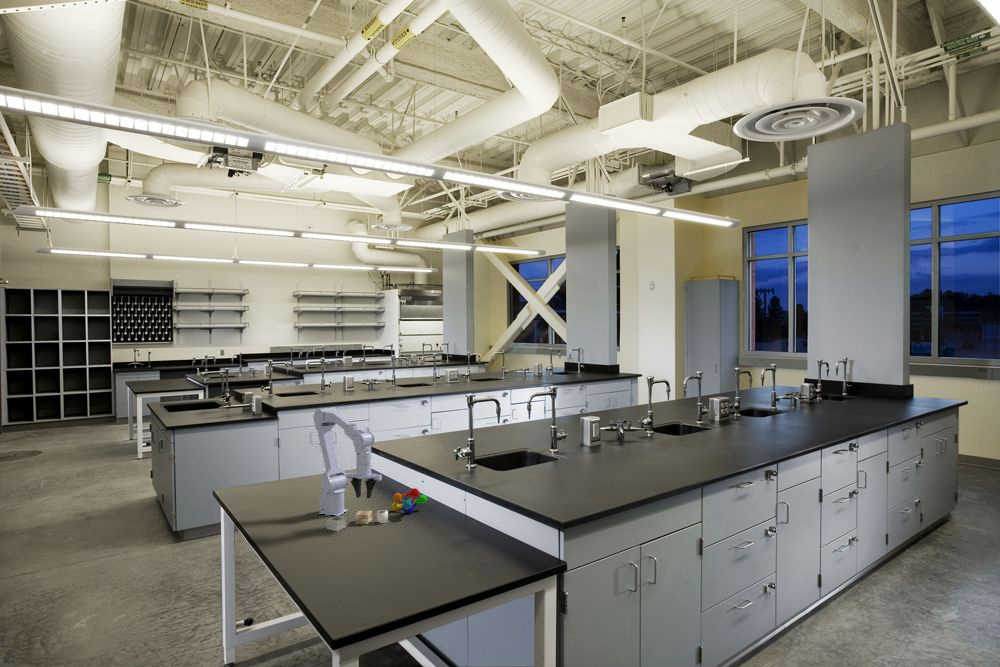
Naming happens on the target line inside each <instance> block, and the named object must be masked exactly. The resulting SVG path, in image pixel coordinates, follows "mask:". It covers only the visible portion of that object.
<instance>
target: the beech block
mask: <svg viewBox="0 0 1000 667" xmlns="http://www.w3.org/2000/svg"><path fill="white" fill-rule="evenodd" d="M371 520H372V521H373V510H359V511H357V512H356V514H355V525H358V524H368V523H369V522H370V521H371ZM372 521H371V522H372ZM371 522H370V523H371ZM370 523H369V524H370ZM369 524H368V525H369Z"/></svg>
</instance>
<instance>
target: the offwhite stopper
mask: <svg viewBox="0 0 1000 667" xmlns="http://www.w3.org/2000/svg"><path fill="white" fill-rule="evenodd" d="M377 522H379V523H385V522H387V523H388V522H389V511H388V510H387V509H385V510H377V511H376V523H377ZM385 524H386V523H385Z"/></svg>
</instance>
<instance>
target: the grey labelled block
mask: <svg viewBox="0 0 1000 667" xmlns="http://www.w3.org/2000/svg"><path fill="white" fill-rule="evenodd" d="M345 527H346V528H347V517H343V516H332V517H331V518H328V519H326V530H327V529H330V530H335V531H338V530H340V529H342V528H345ZM346 528H345V529H346ZM342 530H343V529H342ZM340 531H341V530H340ZM338 532H339V531H338Z"/></svg>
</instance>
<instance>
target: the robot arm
mask: <svg viewBox="0 0 1000 667" xmlns="http://www.w3.org/2000/svg"><path fill="white" fill-rule="evenodd" d="M312 417H313V422H314V426H315V430H316V431H317V436H318V441H319V444H320V449H321V454H322V457H323V458H322V459H323V462H324V468H325V471H324V472H323V473H322V474H321V489H322V492H321V493H320V496H319V513H318V515H319V514H325V515H324V516H330V515H335V516H339V517H341V514H342V515H343V514H345V513H346V512H348V511H349V509H347V508H345V491H346V489H347V488H348V486H349V480H350V479H351V480H350V484H351V485H352V487H353V489H354V493H355V495H356V499H357V498H360V497H361V496H362V481H363V480H366V481H365V486H366V498H367V499H370V498H371V497H372V495H373V489H374V487H375V484H376V483H377V481H379V482H380V481H382V476H383V475H382V474H380V473H379V474H378V473H373V472H372V446H373V445H374V443H375V436H374V434H373V433H372V432H371V431H365V430H364V429H362V427H360V426H358V424H357V423H356V422H350V420H348V419H347V418H346V417H345V415H343V414H342V409H340V408H339V406H332V407H324V408H317V409H316V410H315V411H314V413H313V416H312ZM336 425H337V426H339V427H340V428H341V429H343V430H344V431H343V432H344V435H345V436H347V437H348V439H350V440H351V441H352V444H353V446H354V452H355V453H356V454H355V455H356V456H355V457H356V461H355V463H356V464H355V467H356V469H355V471H356V472H348V473H346V471H345V469H343V468H342V467H341V466H339V461H338V457H337V453H336V448H335V445H334V443H335V442H334V440H333V435H332V429H333V428H335V427H336ZM344 512H345V513H344ZM335 516H334V517H335Z"/></svg>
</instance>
